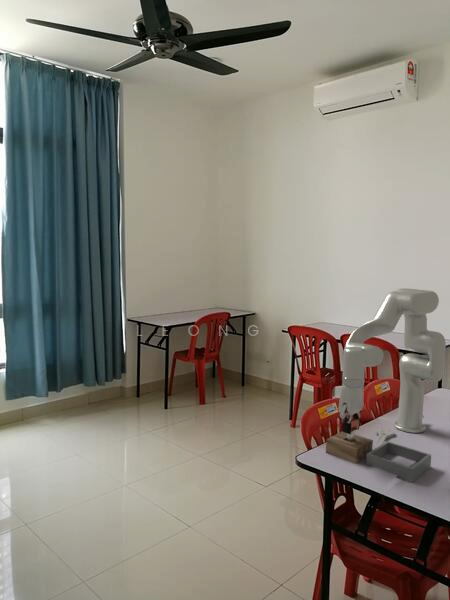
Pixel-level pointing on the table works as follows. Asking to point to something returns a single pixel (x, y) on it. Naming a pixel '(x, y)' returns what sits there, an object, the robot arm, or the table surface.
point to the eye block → (348, 447)
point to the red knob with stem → (352, 429)
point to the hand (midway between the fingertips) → (350, 430)
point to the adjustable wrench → (383, 435)
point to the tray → (401, 470)
